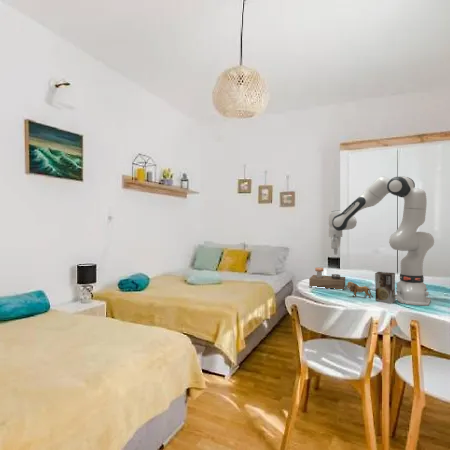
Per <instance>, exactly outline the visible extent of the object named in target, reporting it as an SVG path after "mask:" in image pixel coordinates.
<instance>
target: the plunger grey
mask: <svg viewBox="0 0 450 450" xmlns="http://www.w3.org/2000/svg"><path fill="white" fill-rule="evenodd" d="M331 276H332V278H333V279H338V278H340V277H341V274H338V273H337V274H336V273H333V274H331Z"/></svg>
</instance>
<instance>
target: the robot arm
mask: <svg viewBox="0 0 450 450" xmlns="http://www.w3.org/2000/svg"><path fill="white" fill-rule="evenodd" d="M388 194H391V195H393V196H396V197H399V198H403V200H404V203H403V211H402V220H401V223H400V225H399V227H398V228H397V230H396V231H395V232H394V233H392V234H391V235H390V237H389V241H388V243H389V246H390V247H391V248H392V249H393V250H395V251H400V252H406V251H407V254H406V255H405V256H404V257H402V258H401V260H400V273H399V281H398V282H397V283H396V294H395V300H396V299H397V300H398V301H397V300H396V301H397V302H398V303H401V304H404V303H405V304H404V305H411V306H413V305H414V306H429V305H430V304H431V297H428V296H429V293H430V292H429V291H428V290H429V289H428V288H427V284H425V283H424V281H425V279H424V278H425V277H424V274H423V271H424V270H423V269H424V260H425V257H426V255H427V253H428V251H429V250H430V249H431V248H432V247H433V246H434V245H435V239H434V238H435V237H434V236H433V235H432V234H431V233H429V232H425V231H417V230H418V228H419V227H421V226H422V225H424V223H425V221H426V215H427V205H428V203H427V193H426V191H425V190H424V189H420V188H416V184H415V182H414V180H413V179H412V178H410V177H408V176H395V177H392V178H391V179H390V178H389V177H386V176H379V177H378V178H376V180H374V181H373V182H372V183H371V184H369V186H367V188H366V189H365V190H363V192H362V193H361V194H360V195H359V196H358V197H357V198H356V199H355V200H354V201H352V202H351V203H350V204H349V205H348V206H347V207H346V208H345V209H344V210H343V211H341V210H333V211H331V212H329V216H328V225H329V227H328V237H329V238H330V241H331V242H330V244H331V245H330V247H331V249H333V254H334V255H336V256H337V255H338V248H340V246H341V239H342V237H343V231H346V230H352V229H354V228H355V227H356V226H357V218H356V217H355V215H356V214H357V213H359V211H361V210H365V209H366V208H371V207H375V206H376V205H377V204H379V203H380V202H381V201H383V199H384V198H385V196H387V195H388Z"/></svg>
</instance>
